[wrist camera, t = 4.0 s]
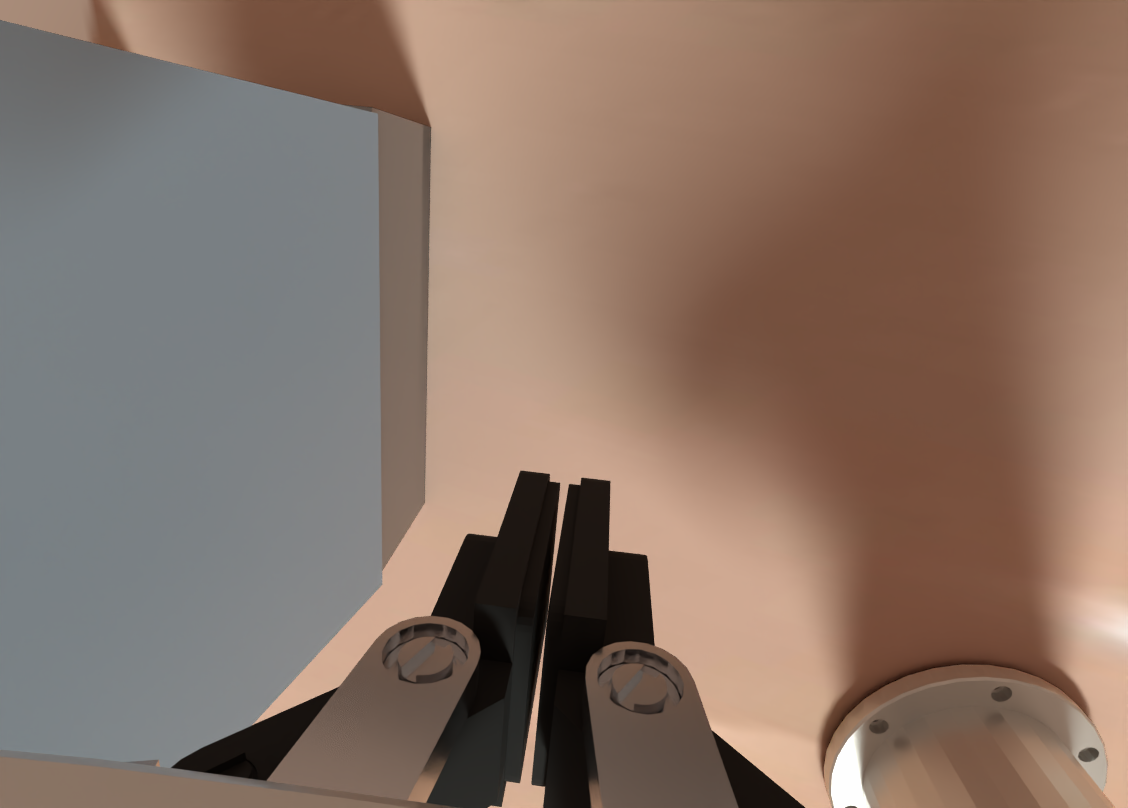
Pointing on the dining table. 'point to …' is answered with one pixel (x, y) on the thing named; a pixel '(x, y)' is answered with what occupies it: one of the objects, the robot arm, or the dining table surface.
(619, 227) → the dining table surface
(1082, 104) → the dining table surface
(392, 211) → the block
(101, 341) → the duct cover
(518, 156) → the dining table surface
